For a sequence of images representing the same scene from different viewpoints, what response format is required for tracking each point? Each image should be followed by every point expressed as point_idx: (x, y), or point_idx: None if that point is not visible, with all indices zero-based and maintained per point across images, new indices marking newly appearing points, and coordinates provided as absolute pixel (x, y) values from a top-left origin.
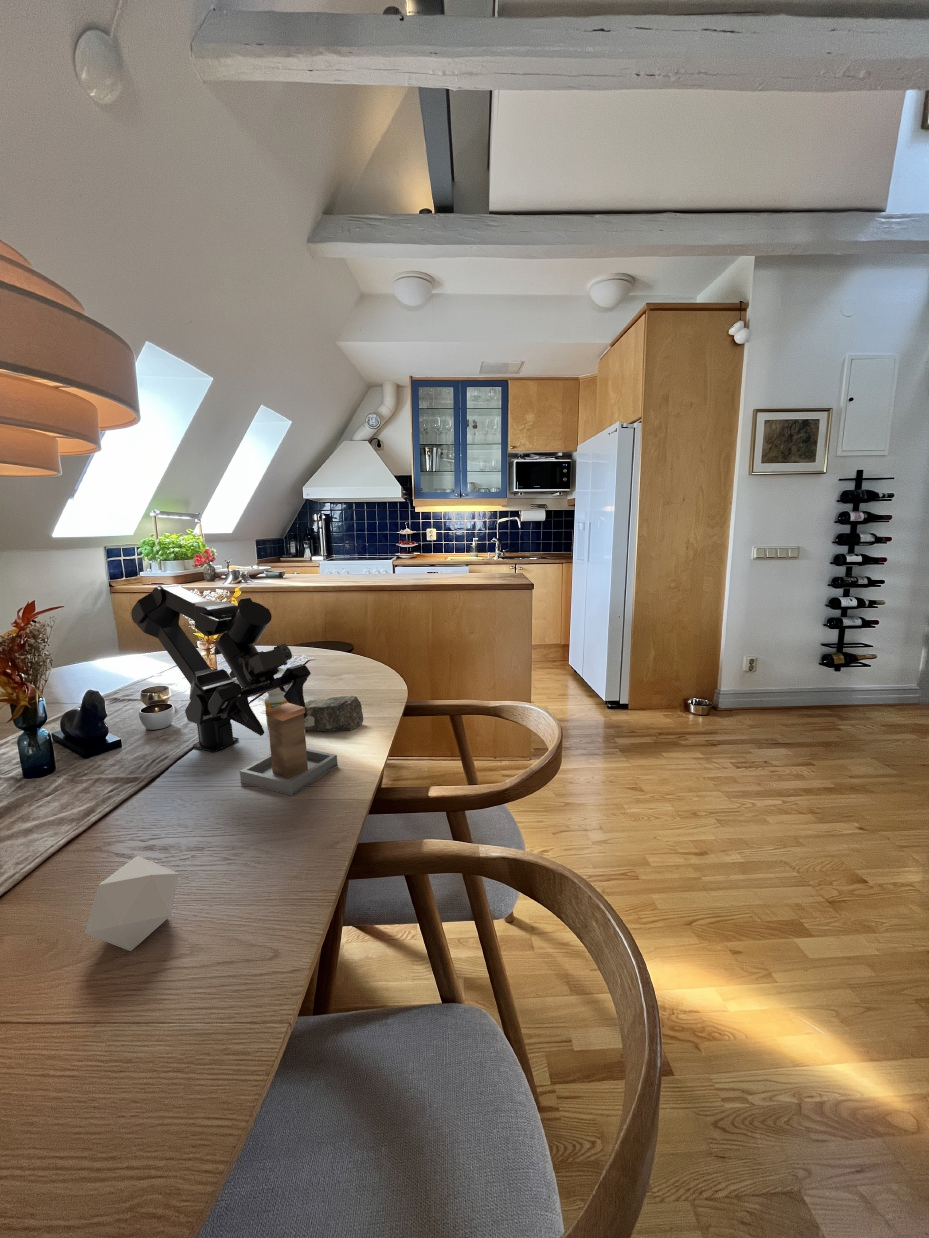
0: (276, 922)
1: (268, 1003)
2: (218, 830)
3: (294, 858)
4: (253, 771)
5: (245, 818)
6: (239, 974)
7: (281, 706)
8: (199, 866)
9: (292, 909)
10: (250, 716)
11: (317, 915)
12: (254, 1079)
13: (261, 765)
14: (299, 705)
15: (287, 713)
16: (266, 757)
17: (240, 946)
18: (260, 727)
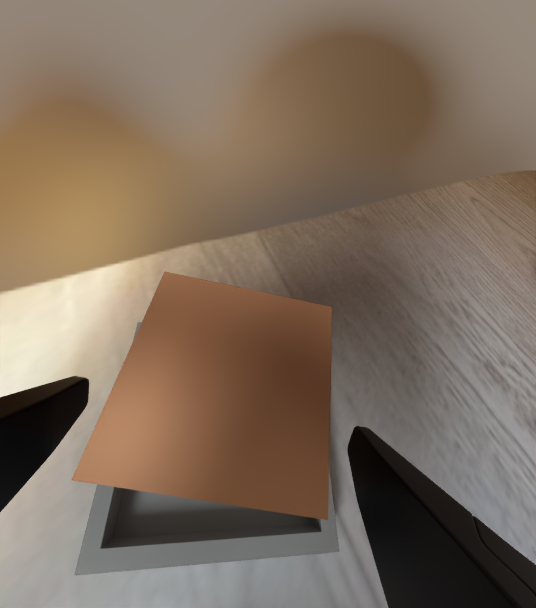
0: (460, 213)
1: (490, 186)
2: (453, 384)
3: (405, 243)
4: (288, 529)
5: (403, 368)
6: (499, 210)
7: (191, 451)
8: (499, 334)
9: (444, 210)
10: (477, 521)
11: (432, 192)
12: (509, 174)
13: (253, 532)
14: (8, 434)
15: (293, 301)
16: (218, 551)
17: (492, 222)
18: (381, 443)
